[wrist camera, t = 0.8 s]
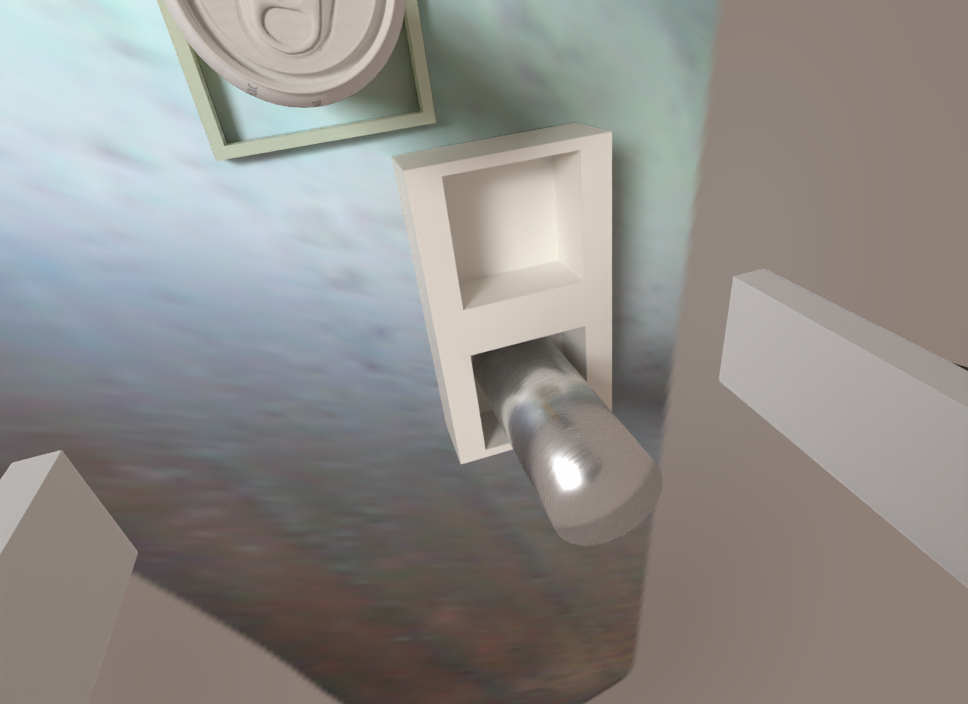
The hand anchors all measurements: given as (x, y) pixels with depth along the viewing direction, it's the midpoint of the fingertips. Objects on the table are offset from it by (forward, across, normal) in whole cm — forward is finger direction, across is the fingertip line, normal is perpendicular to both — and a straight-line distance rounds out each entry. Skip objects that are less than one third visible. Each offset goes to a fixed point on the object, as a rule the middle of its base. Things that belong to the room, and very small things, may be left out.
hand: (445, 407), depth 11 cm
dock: (+22, +8, -9) cm, 25 cm away
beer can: (+23, -1, +8) cm, 24 cm away
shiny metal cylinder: (+21, +7, -14) cm, 27 cm away
